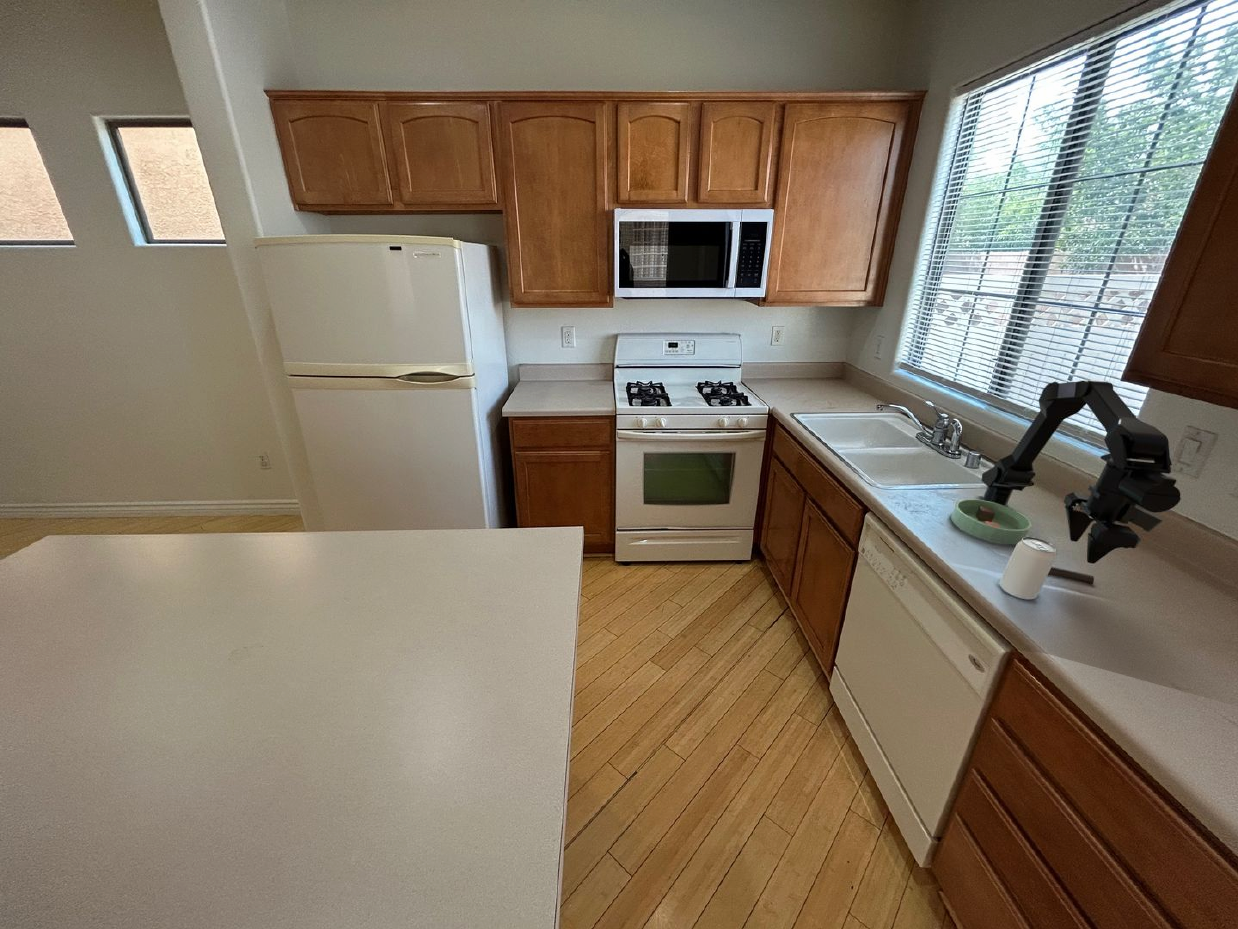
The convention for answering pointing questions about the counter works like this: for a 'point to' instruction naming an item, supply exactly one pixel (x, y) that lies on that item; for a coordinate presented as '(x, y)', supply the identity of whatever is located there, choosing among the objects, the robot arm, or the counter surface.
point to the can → (1028, 568)
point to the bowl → (1008, 519)
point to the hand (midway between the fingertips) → (1081, 551)
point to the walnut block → (985, 514)
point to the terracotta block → (992, 524)
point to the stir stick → (1071, 575)
